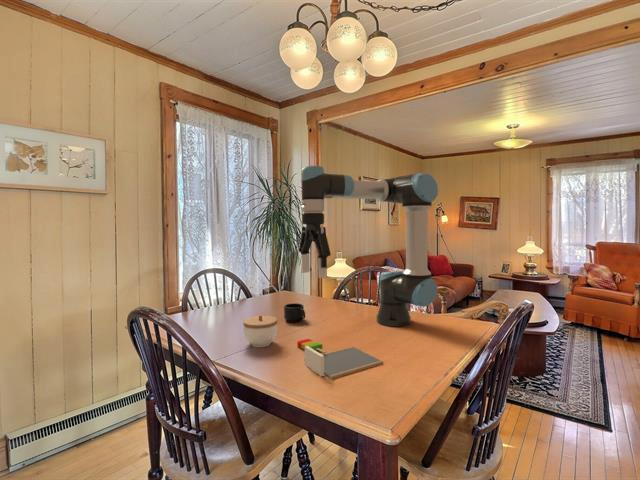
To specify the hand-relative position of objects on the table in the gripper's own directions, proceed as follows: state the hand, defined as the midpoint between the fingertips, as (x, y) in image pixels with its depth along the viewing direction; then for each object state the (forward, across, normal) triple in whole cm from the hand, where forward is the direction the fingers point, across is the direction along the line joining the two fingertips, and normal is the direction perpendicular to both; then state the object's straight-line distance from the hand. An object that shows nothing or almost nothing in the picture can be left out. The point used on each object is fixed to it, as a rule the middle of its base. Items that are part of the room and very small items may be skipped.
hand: (313, 275), depth 119 cm
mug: (+28, -40, +10) cm, 50 cm away
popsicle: (+28, -3, +1) cm, 28 cm away
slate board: (+28, +10, +5) cm, 30 cm away
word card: (+28, +11, -6) cm, 30 cm away
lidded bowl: (+28, -19, -13) cm, 36 cm away
